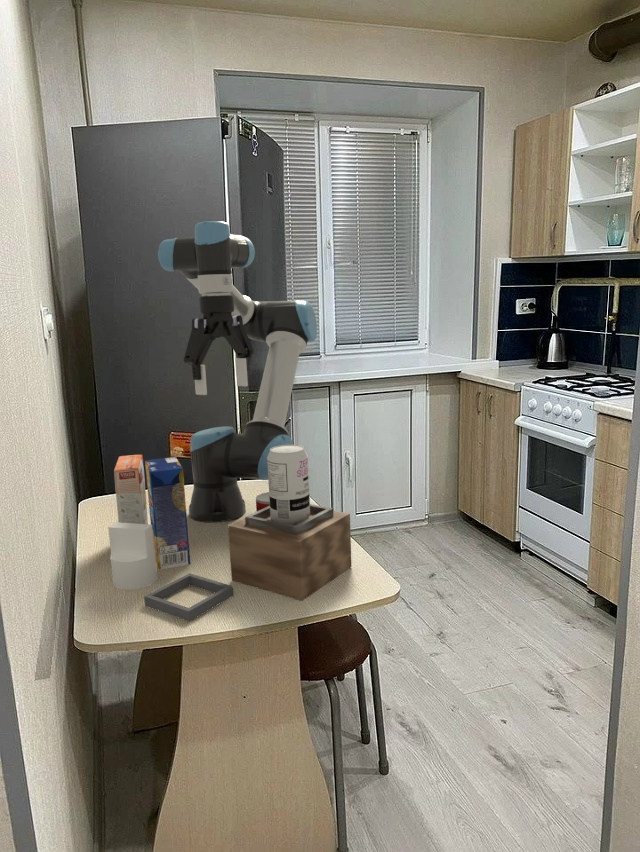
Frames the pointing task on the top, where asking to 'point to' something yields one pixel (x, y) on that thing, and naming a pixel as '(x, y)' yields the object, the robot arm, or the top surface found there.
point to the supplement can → (288, 484)
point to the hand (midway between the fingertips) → (222, 390)
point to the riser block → (290, 551)
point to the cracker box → (130, 490)
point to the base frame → (220, 595)
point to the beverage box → (168, 512)
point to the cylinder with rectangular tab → (132, 555)
